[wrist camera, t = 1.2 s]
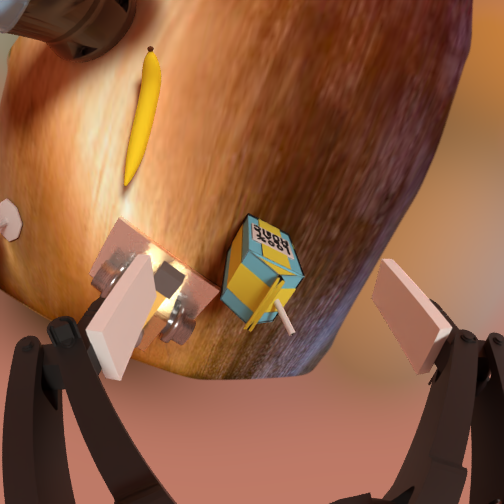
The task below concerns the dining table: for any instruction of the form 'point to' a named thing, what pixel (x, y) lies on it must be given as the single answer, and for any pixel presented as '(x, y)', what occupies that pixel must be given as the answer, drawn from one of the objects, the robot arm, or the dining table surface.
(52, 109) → the dining table surface
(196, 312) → the valve body
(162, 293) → the lever
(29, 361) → the robot arm
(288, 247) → the carton
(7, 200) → the wineglass
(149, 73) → the banana
